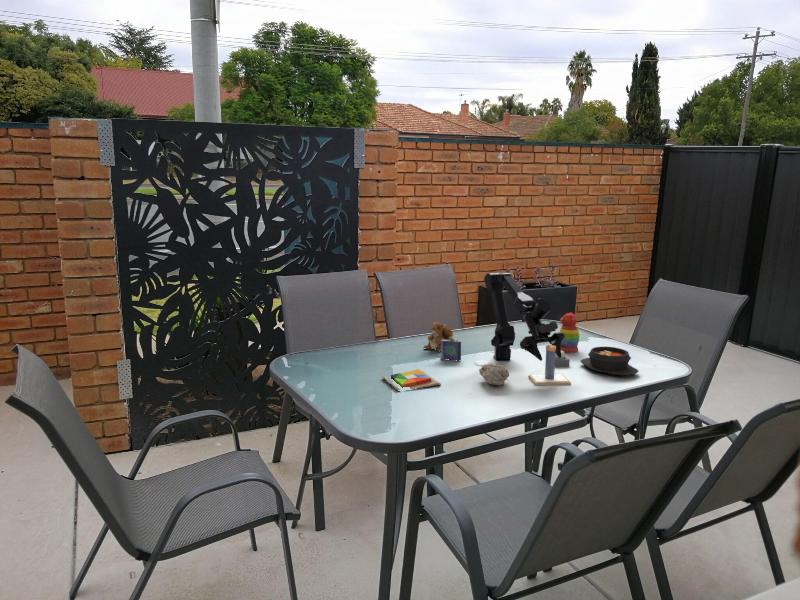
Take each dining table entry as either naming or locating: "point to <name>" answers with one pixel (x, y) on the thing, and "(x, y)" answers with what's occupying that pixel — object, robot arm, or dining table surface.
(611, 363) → the casserole
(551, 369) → the toy microphone
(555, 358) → the button
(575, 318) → the stacking bear
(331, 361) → the dining table surface
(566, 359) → the gray square hollow block
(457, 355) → the dark blue box
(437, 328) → the stuffed squirrel
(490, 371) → the pumice stone
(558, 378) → the sketch pad
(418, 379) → the wooden puzzle
